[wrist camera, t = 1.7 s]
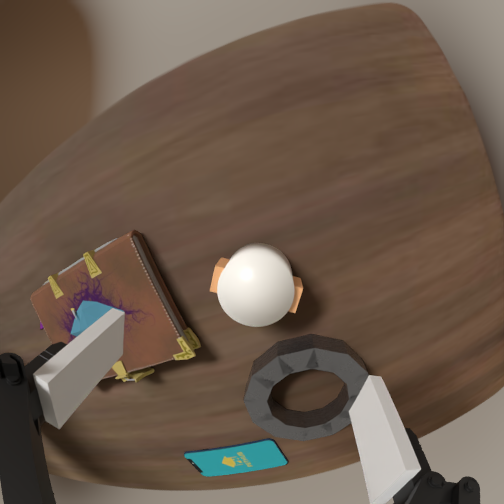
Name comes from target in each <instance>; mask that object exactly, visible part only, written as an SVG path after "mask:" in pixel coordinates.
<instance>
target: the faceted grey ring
mask: <svg viewBox="0 0 504 504" xmlns="http://www.w3.org/2000/svg"><path fill="white" fill-rule="evenodd" d="M309 369H317V370H322V371H328V372H333V373H335V374H336V375H337V376H338V377H339V378H341V379H342V380H343V381H344V383H345V384H344V386H343V388H342V390H341V392H340V394H339V395H338V397H337V398H336V399H335V400H334V401H332V402H331V403H329V404H328V405H326V406H325V407H323V408H321V409H317V410H312V411H308V412H299V411H293V410H288V409H285V408H284V407H282V406H281V405H279V404H278V403H277V402H275V401H274V400H273V399H272V396H271V393H270V392H271V390H272V387H273V386H274V385H275V384H276V383H278V382H279V381H281V380H282V379H283V378H285V377H286V376H287V375H289V374H291V373H295V372H300V371H304V370H309ZM367 378H368V372H367V369H366V367H365V365H364V362H363V360H362V358H361V357H360V356H358V355H357V354H356V353H355V352H354V351H353V350H352V349H351V348H350V347H349V346H348V345H347V344H346V343H345V342H344V341H343V340H338V339H333V338H328V337H324V336H319V335H314V334H309V335H305V336H300V337H296V338H292V339H288V340H283V341H279V342H277V343H276V344H274V345H273V346H272V347H271V348H270V349H268V350H267V351H266V352H265V353H263V354H262V355H261V356H260V357H258V358H257V359H256V360H255V361H254V362H253V366H252V369H251V372H250V375H249V378H248V381H247V384H246V389H245V395H244V403H245V405H246V407H247V410H248V412H249V414H250V417H251V419H252V421H253V423H255V424H256V425H258V426H259V427H261V428H262V429H264V430H265V431H267V432H268V433H270V434H272V435H273V436H275V437H281V438H287V439H293V440H301V441H305V440H311V439H316V438H320V437H325V436H329V435H333V434H335V433H336V432H338V431H340V430H341V429H343V428H344V427H346V426H347V425H349V424H350V423H352V422H351V418H350V415H349V410H350V409H351V407H352V405H353V404H354V402H355V400H356V398H357V397H358V395H359V393H360V391H361V389H362V387H363V386H364V384H365V382H366V380H367Z"/></svg>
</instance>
